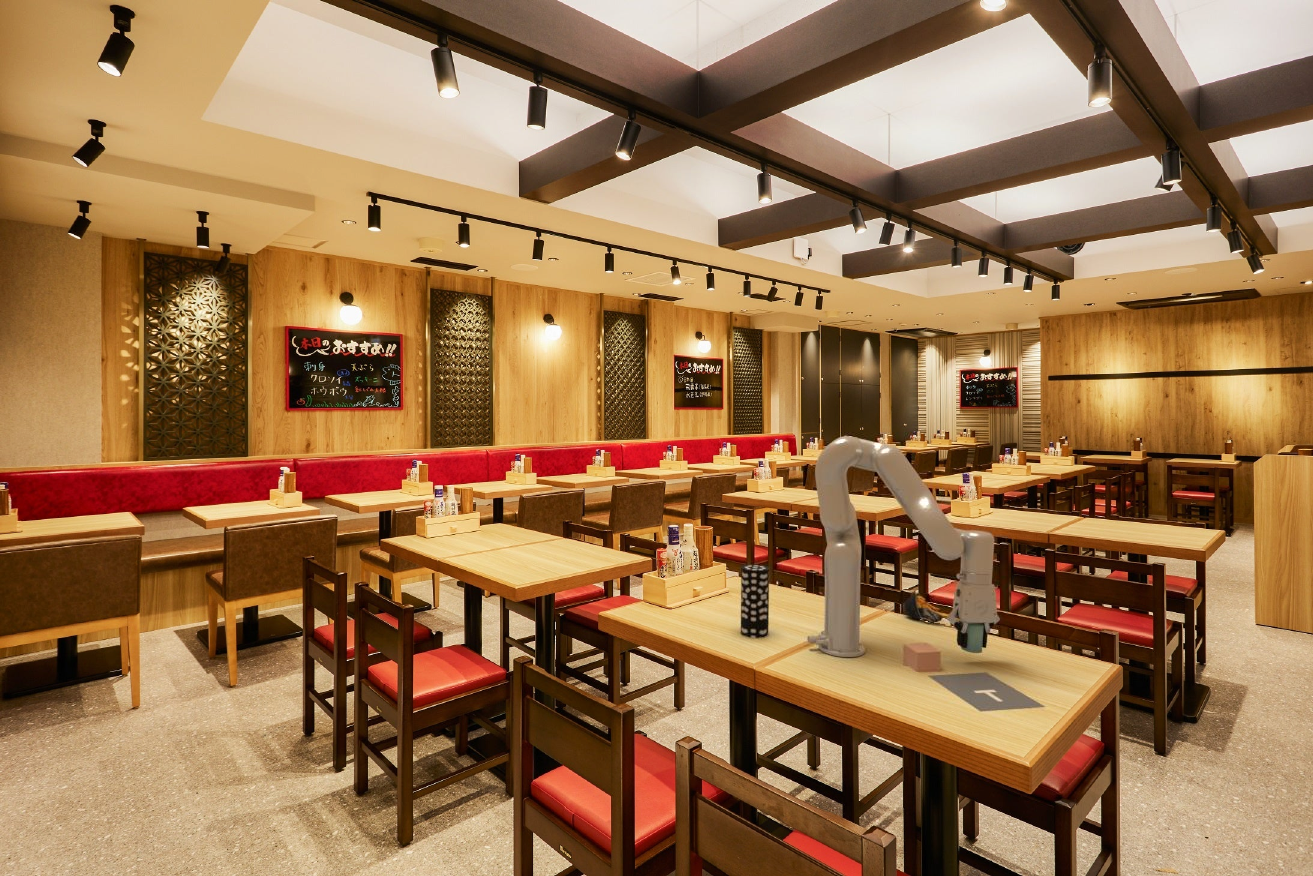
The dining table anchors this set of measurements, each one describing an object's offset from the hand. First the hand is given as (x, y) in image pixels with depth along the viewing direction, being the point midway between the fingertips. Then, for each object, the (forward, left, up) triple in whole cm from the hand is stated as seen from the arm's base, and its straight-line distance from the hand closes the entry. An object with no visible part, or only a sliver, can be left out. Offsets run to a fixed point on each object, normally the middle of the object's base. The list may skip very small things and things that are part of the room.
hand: (971, 645), depth 170 cm
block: (-15, -1, -5) cm, 16 cm away
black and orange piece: (+11, +36, -6) cm, 38 cm away
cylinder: (0, 0, -1) cm, 1 cm away
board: (-9, -17, -5) cm, 20 cm away
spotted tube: (-49, +33, -5) cm, 59 cm away
